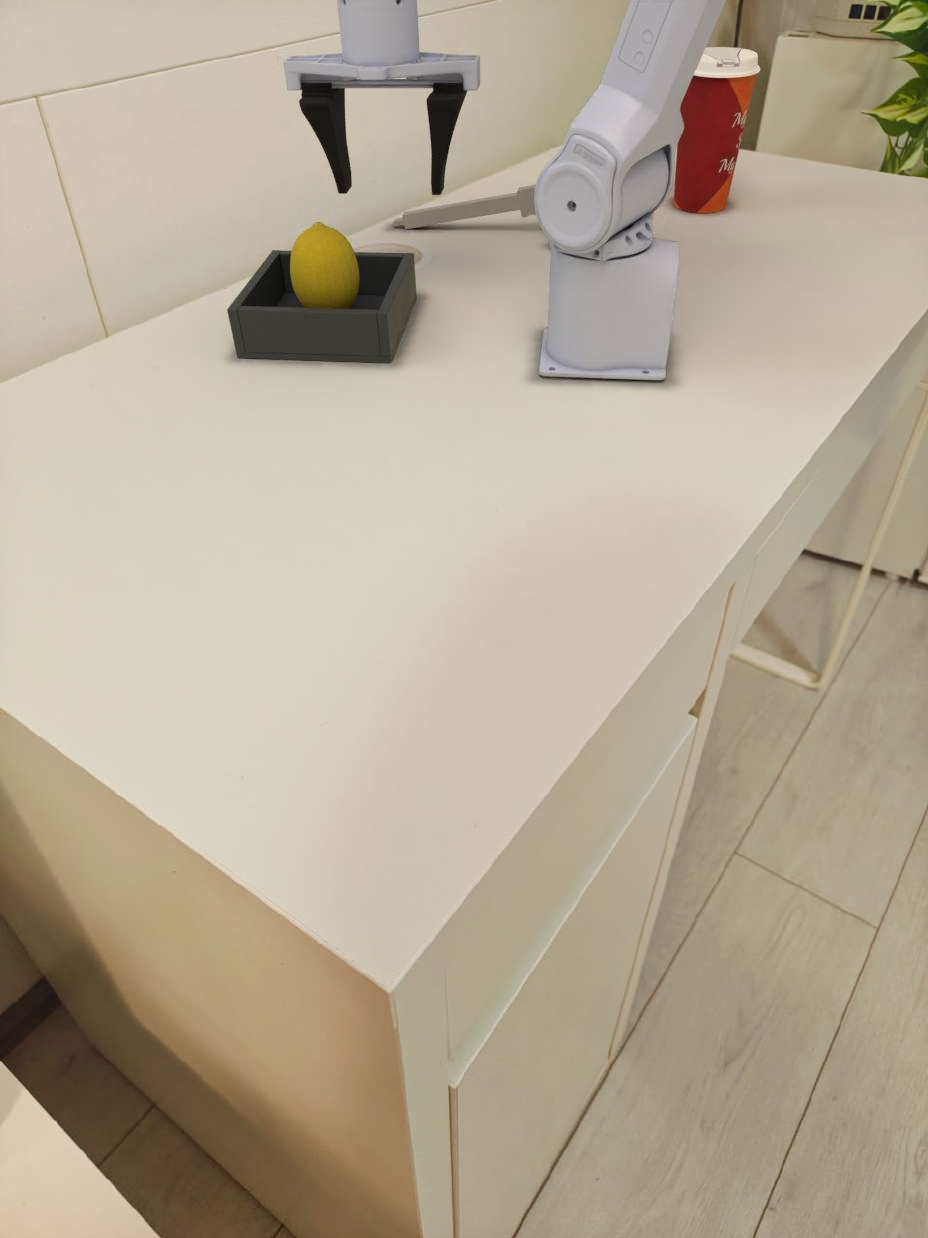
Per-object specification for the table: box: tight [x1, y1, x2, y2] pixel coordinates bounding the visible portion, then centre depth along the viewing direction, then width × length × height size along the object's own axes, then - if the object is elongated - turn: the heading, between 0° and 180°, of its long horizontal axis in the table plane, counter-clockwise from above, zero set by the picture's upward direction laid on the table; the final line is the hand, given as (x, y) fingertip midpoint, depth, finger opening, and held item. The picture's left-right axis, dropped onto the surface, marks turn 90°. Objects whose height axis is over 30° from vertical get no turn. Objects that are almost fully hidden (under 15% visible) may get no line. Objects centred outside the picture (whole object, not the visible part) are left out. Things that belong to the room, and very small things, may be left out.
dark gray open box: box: [226, 249, 418, 364], centre depth 73 cm, size 13×13×4 cm
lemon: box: [290, 221, 359, 309], centre depth 71 cm, size 6×6×8 cm
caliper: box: [391, 183, 536, 230], centre depth 89 cm, size 20×1×6 cm, turn 81°
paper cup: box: [673, 46, 761, 214], centre depth 90 cm, size 8×8×14 cm
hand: (391, 190), depth 71 cm, fingers open, 7 cm apart
